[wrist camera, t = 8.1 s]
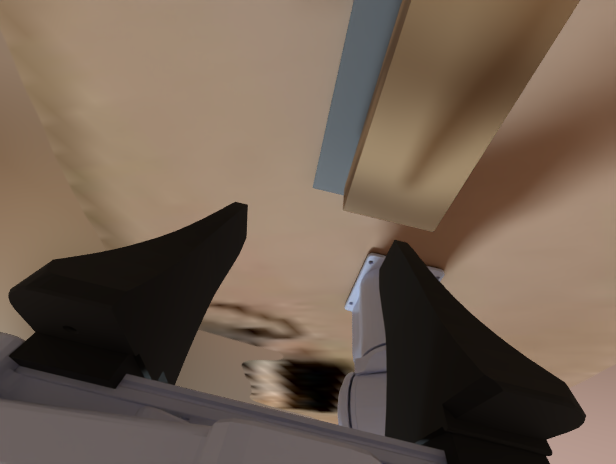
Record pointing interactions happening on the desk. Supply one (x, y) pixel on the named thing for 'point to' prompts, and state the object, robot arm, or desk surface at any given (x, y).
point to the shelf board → (444, 101)
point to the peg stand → (354, 89)
